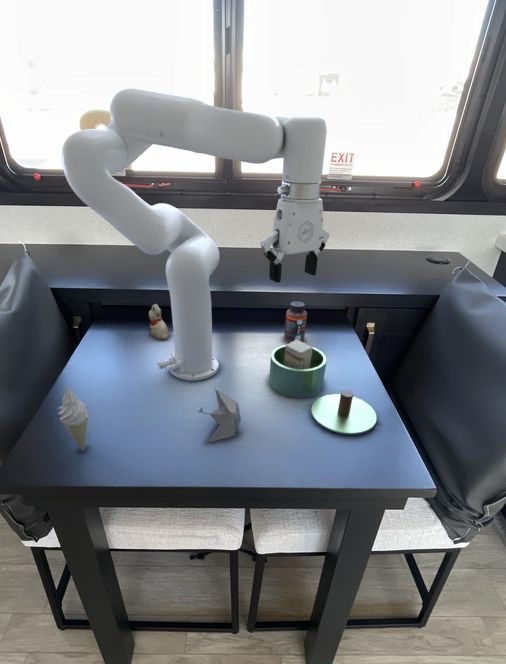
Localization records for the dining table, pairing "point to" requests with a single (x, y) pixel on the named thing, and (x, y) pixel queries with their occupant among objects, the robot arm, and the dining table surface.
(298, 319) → the supplement bottle
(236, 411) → the gray faceted winged figurine
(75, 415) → the ice cream cone
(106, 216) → the robot arm
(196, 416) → the dining table surface
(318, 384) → the tin
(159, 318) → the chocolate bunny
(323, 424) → the lid
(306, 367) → the small beige carton
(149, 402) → the dining table surface
